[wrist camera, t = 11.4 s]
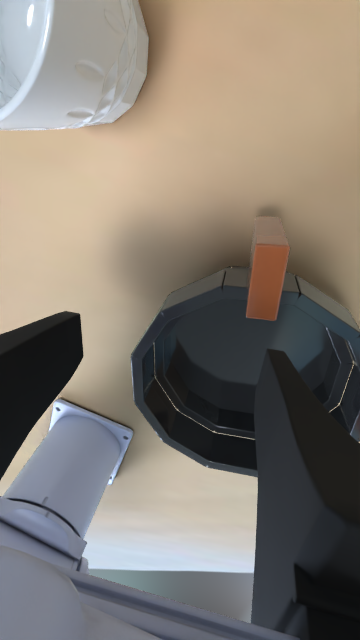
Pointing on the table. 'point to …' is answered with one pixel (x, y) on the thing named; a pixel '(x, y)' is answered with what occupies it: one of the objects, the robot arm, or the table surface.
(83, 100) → the white cup
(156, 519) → the table surface
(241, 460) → the black cooking pot
